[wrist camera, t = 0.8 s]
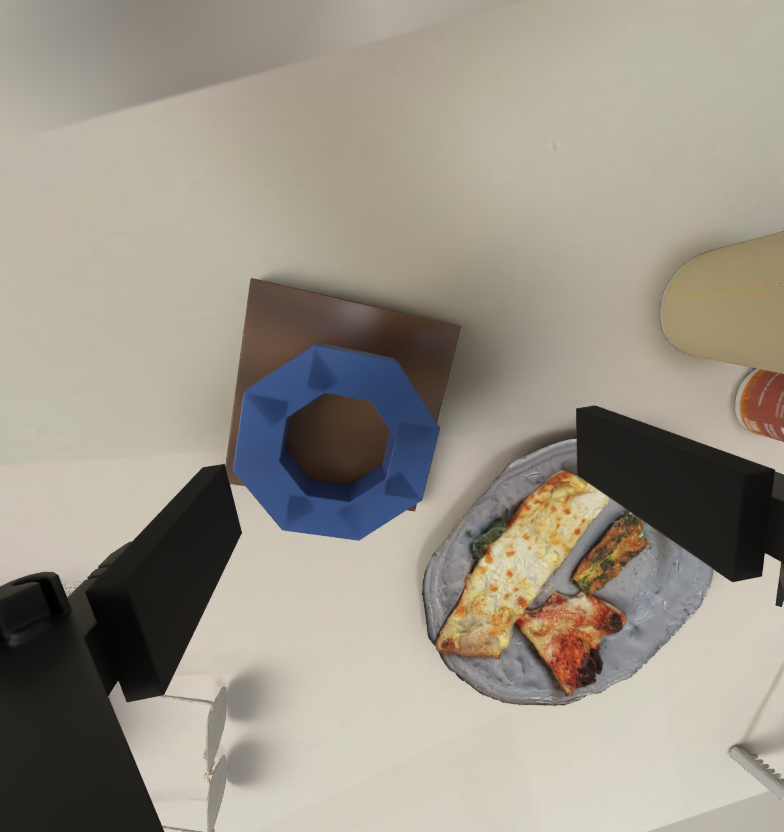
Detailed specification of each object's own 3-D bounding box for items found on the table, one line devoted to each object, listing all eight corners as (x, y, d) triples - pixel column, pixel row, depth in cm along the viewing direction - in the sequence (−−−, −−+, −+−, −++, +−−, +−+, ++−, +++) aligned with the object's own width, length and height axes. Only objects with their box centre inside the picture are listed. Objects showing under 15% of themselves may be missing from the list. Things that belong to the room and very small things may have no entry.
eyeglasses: (227, 795, 37) (209, 852, 33) (136, 792, 36) (107, 849, 32) (227, 669, 34) (207, 715, 30) (128, 664, 33) (95, 710, 29)
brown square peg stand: (255, 280, 27) (212, 262, 18) (455, 325, 29) (503, 329, 20) (228, 475, 30) (180, 540, 21) (411, 502, 32) (437, 572, 23)
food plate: (559, 721, 39) (579, 760, 36) (366, 615, 34) (368, 648, 30) (740, 527, 36) (781, 549, 33) (558, 376, 31) (585, 383, 27)
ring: (261, 330, 19) (251, 331, 17) (443, 368, 20) (453, 373, 18) (236, 504, 21) (225, 523, 19) (404, 528, 22) (410, 548, 20)
